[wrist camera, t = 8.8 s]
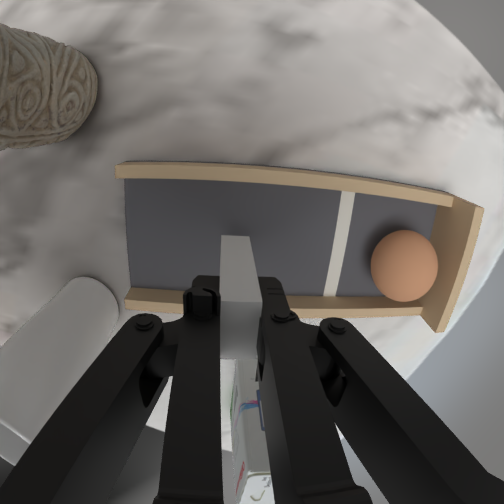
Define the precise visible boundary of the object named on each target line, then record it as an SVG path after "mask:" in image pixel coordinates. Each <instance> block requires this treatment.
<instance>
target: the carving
mask: <svg viewBox="0 0 504 504" xmlns="http://www.w3.org/2000/svg"><path fill="white" fill-rule="evenodd" d="M97 84H98V80H97V75H96V72H95V70H94V68H93V66H92V65H91V63H90V62H89V61H88V59H87V58H86V57H85V56H84V55H83V54H81V53H80V52H78V51H77V50H76V49H74V48H73V47H71V46H65V45H64V43H58V42H56V41H54V40H53V39H51V38H48V37H44V36H41V35H39V34H37V33H35V32H34V33H32V32H28V31H24V30H20V29H16V28H10V27H8V26H7V25H4V24H1V23H0V151H1V150H4V149H6V148H8V147H9V148H14V149H20V148H28V147H35V146H40V145H45V144H52V143H57V142H60V141H63V140H65V139H67V138H68V137H69V136H70V135H71V134H73V133H74V132H75V131H76V130H77V129H78V128H79V127H80V126H81V125H82V124H83V122H84V121H85V120H86V118H87V117H88V116H89V114H90V112H91V110H92V108H93V106H94V104H95V101H96V96H97V87H98V85H97Z"/></svg>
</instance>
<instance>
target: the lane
mask: <svg viewBox="0 0 504 504" xmlns="http://www.w3.org/2000/svg"><path fill="white" fill-rule="evenodd" d="M115 178H125V213H126V233H127V248H128V260H129V271H130V281H131V288H130V290H129V292H128V294H127V295H126V297H125V299H124V301H125V308H126V309H131V310H141V311H153V312H165V313H179V314H183V294H184V292H185V291H186V290H188V289H189V288H191V286H192V281H193V279H194V278H196V277H197V276H198V275H210V276H220V256H221V235H230V236H249V238H250V242H251V247H252V252H253V257H254V262H255V267H256V272H257V276H258V277H275V278H277V279H278V280H279V281H280V282H281V284H282V287H283V290H284V293H285V296H286V299H287V302H288V305H289V308H290V310H292V311H293V312H295V313H296V314H297V315H298V317H299V318H328V317H337V318H365V317H393V316H414V315H420V316H421V317H422V318H423V319H424V320H425V321H426V323H427V324H428V325H429V326H430V327H431V329H432V330H433V331H434V332H435V333H439V332H444V331H445V329H446V326H447V324H448V322H449V319H450V317H451V314H452V312H453V310H454V307H455V304H456V302H457V299H458V297H459V294H460V291H461V288H462V286H463V283H464V280H465V277H466V274H467V271H468V268H469V265H470V261H471V258H472V255H473V251H474V248H475V244H476V241H477V237H478V233H479V229H480V225H481V221H482V217H483V213H484V208H482V207H480V206H478V205H476V204H473V203H471V202H469V201H466V200H464V199H462V198H459V197H457V196H455V195H452V194H450V193H447V192H445V191H440V190H435V189H430V188H425V187H420V186H415V185H410V184H404V183H398V182H393V181H387V180H381V179H374V178H368V177H361V176H354V175H347V174H340V173H332V172H324V171H316V170H307V169H297V168H287V167H276V166H264V165H250V164H235V163H216V162H189V161H126V162H123V163H120V164H118V165H115ZM399 230H410V231H414V232H417V233H419V234H421V235H422V236H424V237H425V238H426V239H427V240H428V241H429V242H430V243H431V244H432V246H433V248H434V250H435V252H436V255H437V259H438V272H437V276H436V279H435V281H434V283H433V285H432V287H431V288H430V289H429V291H428V292H427V293H425V294H424V295H423V296H422V297H420V298H418V299H416V300H413V301H408V302H400V301H395V300H392V299H390V298H388V297H386V296H385V295H384V294H382V293H381V292H380V291H379V289H378V288H377V287H376V285H375V283H374V281H373V278H372V275H371V258H372V254H373V252H374V249H375V248H376V246H377V245H378V243H379V242H380V241H381V240H382V239H383V238H384V237H385V236H387V235H388V234H390V233H392V232H395V231H399Z"/></svg>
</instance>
